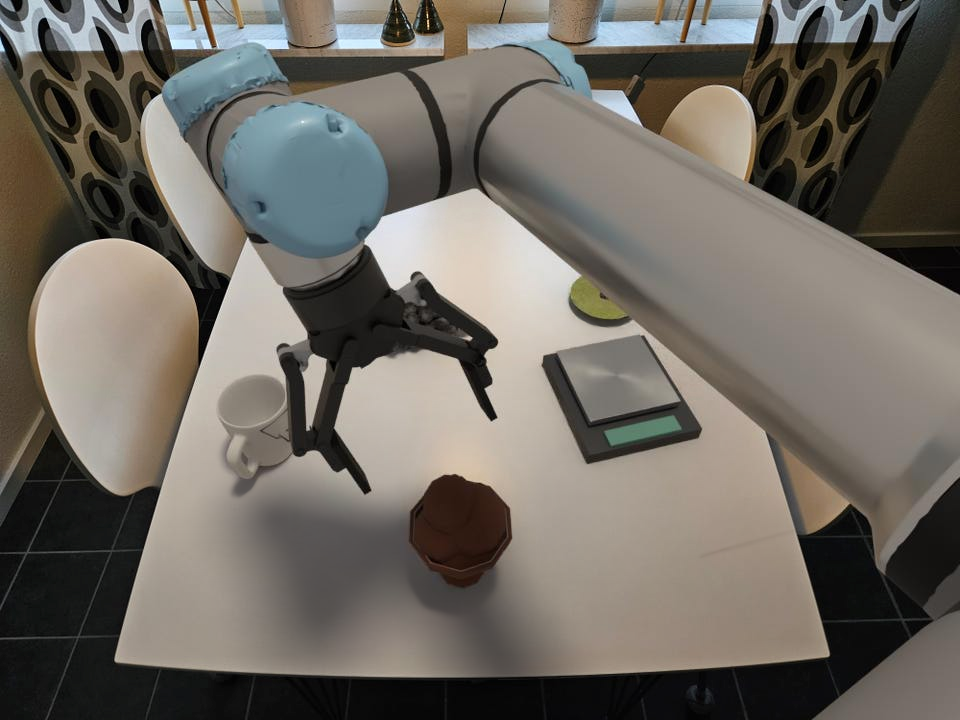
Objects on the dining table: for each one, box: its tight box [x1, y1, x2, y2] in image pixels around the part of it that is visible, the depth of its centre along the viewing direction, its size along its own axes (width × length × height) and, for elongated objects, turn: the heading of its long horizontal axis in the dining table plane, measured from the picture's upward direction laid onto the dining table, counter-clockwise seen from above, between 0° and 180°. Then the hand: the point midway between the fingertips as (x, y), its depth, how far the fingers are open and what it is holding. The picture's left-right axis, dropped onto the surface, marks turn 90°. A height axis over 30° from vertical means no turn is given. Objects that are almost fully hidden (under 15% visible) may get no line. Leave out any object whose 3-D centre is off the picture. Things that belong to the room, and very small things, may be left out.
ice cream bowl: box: [408, 473, 513, 589], centre depth 69 cm, size 11×11×15 cm
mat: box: [569, 276, 629, 320], centre depth 104 cm, size 11×11×2 cm
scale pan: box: [555, 334, 681, 426], centre depth 90 cm, size 13×13×1 cm
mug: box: [215, 373, 293, 480], centre depth 80 cm, size 11×8×10 cm
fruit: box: [394, 289, 460, 350], centre depth 96 cm, size 9×8×15 cm
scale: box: [542, 334, 703, 464], centre depth 90 cm, size 18×16×3 cm
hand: (427, 447), depth 62 cm, fingers open, 13 cm apart
